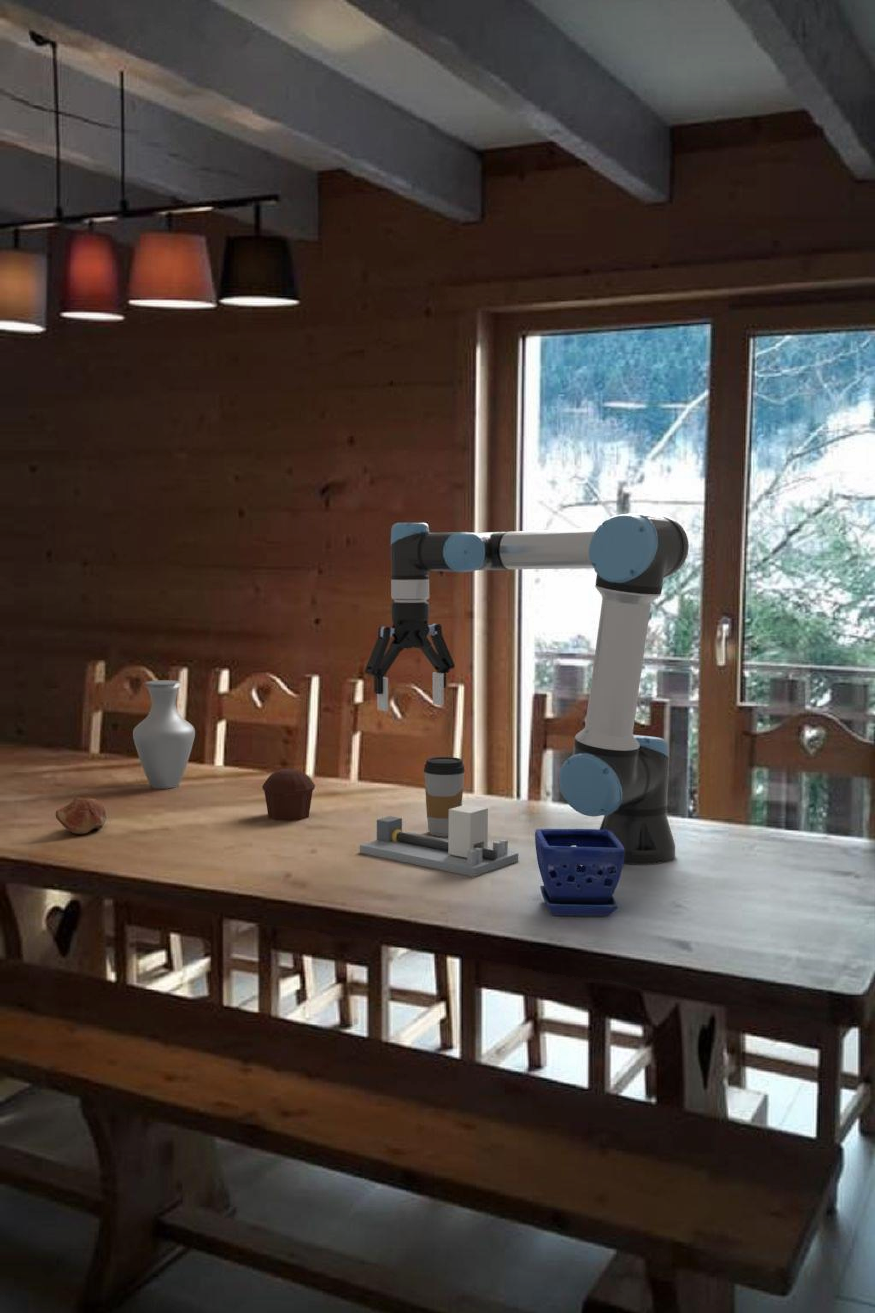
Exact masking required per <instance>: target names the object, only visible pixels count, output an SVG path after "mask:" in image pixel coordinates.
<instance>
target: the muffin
mask: <svg viewBox="0 0 875 1313" xmlns="http://www.w3.org/2000/svg"><path fill="white" fill-rule="evenodd" d="M261 787H262V790H263V791H264V792H263V793H264V797H265V803H266V804H265V805H266V809H267V816H268V819H271V820H274V821H287V822H291V821H301V820H304V819H309V818H310V810H311V804H312V797H313V792H314V790H315V789H316V784H315V783H314V782H313V780H312V778H311V777H310V776H309V775H307V774H306V773H305V772H303V771H301V770H300V769H297V768H281V769H277V770H276V771H274V772H273V773H271V774H270V775H269V776H268V777H267V779H266V780H265V782H264V783H263V785H262V786H261Z"/></svg>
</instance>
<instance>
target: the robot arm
mask: <svg viewBox="0 0 875 1313" xmlns="http://www.w3.org/2000/svg"><path fill="white" fill-rule="evenodd" d="M390 530H391V532H390V544H389V546H390V563H391V564H390V566H391V568H390V569H391V576H390V578H391V579H390V584H391V585H390V586H391V587H390V590H391V596H390V597H391V599H392V600H394V601H393V602H392V603H391V606H390V607H391V608H390V609H391V610H390V612H391V613H390V615H391V616H390V618H391V621H392V626H391V627H390V626H383V625H382V626H379V628H378V630H377V631H378V634H377V639H376V642H375V644H374V647H373V649H372V652H371V654H370V657H369V659H368V662H367V665H366V667H365V670H364V673H365V674H366V675H368V676H371V677H373V692H374V694H376V698H377V699H376V705H377V706H376V707H377V711H381V712H389V678H388V677H385V676H386V674H387V673H388V671H389V670H390V668H391V667H392V665H393V663H395V661H396V659H397V657H398V656H399V654H400V652H403V651H404V649H412V648H415V649H420V650H421V652H422V653H423V655H424V656H425V657H426V659H427V660H428V661H429V663H430V664H431V665H432V667H433V668H434V670H435V671H434V672H432V705H436V706H440V707H441V706H444V705H445V704H444V702H445V701H444V700H445V698H444V694H445V692H444V691H445V690H444V689H446V687H447V674H449V673H450V671H451V670H452V669H455V666H456V665H455V663H454V661H453V658H452V655H451V653H450V650H449V649H448V645H447V644H446V641H445V639H444V636H443V632H442V631H443V630H442V629H443V628H442V624H439V623H430V625H429V623H428V621H429V620H430V604H429V602H428V601H427V600H429V599H430V572H456V573H461V574H462V573H468V572H475V571H503V570H504V571H508V570H557V569H558V570H559V569H560V570H561V569H563V570H564V569H565V570H566V569H569V570H571V569H573V570H574V569H577V570H578V569H594V572H595V573H596V576H595V588H596V590H597V591H598V593H599V594H600V595H601V597H602V598H601V608H600V615H599V622H598V628H597V629H598V630H597V635H596V643H595V650H594V656H593V657H594V658H593V665H592V666H593V667H592V673H591V682H590V686H589V688H590V689H589V696H588V703H587V709H586V710H587V711H586V718H585V725H584V728H583V729H582V730H580V731H579V732H578V733H576V734H575V737H574V744H573V752H572V755H570V757H568V758H567V759H566V760H565V761H564V762H563V764H562V765H561V768H560V770H559V776H558V784H559V788H560V792H561V795H562V796H563V798H564V800H566V802H567V804H568V805H569V807H570V808H572V810H574V811H576V812H577V813H579V814H580V815H583V816H587V817H600V816H601V817H603V818H602V821H601V824H600V827H599V828H598V829H599V830H610V831H612V832H613V834H614V835H615V836H616V837H617V839H618V840H619V841H620V842H621V844H622V845H623V847H624V849H625V855H624V862H623V864H631V865H654V864H662V863H667V862H670V861H672V860H674V859H675V857H676V843H675V840H674V836H673V833H672V830H671V827H670V822H669V819H668V815H667V813H668V784H669V783H668V781H669V759H670V755H669V745H668V742H667V741H666V739H664V738H662V737H658V736H657V737H656V736H649V735H638V734H634V729H635V728H634V726H635V720H636V719H635V718H636V713H637V712H636V711H637V706H638V697H639V692H640V683H641V678H642V677H641V676H642V670H643V663H644V658H645V650H646V644H647V643H646V641H647V634H648V627H649V620H650V613H651V609H652V608H651V606H652V603H653V602H654V601H656V599H658V598H659V597H661V595H662V590H663V585H664V579H665V578H667V577H670V576H672V575H674V574H675V573H676V572H678V571H679V570H680V569H681V567H682V566H684V564H685V562H686V560H687V558H688V555H689V549H690V548H689V546H690V545H689V538H688V534H687V533H686V531H685V529H684V528H683V526H682V525H681V524H680V523H679V522H678V521H677V520H675V519H674V518H672V517H670V516H667V515H665V514H647V513H646V514H645V513H635V512H632V513H628V512H627V513H621V514H618V515H614V516H611V517H609V518H607V519H606V520H604V521H603V522H602V523H601V524H600V525H598V527H596V528H573V529H571V528H570V529H549V530H548V529H547V530H543V529H542V530H523V531H521V530H520V531H519V530H518V531H493V532H492V531H490V532H487V531H486V532H468V531H457V532H456V531H455V532H430V527H429V524H428V523H426V522H397V523H394V524H392V526H391V529H390ZM429 635H430V636H429ZM427 636H429V637H430V639H431V641H432V643H431V641H430V639H428V637H427ZM392 637H393V639H392V640H391V642H390V639H391V638H392ZM389 643H390V644H389ZM432 644H433V646H434V647H433V646H432ZM388 646H389V647H388ZM434 648H435V649H434Z"/></svg>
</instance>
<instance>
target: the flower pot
mask: <svg viewBox="0 0 875 1313" xmlns="http://www.w3.org/2000/svg"><path fill="white" fill-rule="evenodd" d="M599 829H600V828H597V829H595V828H539V829H536V830H535V831H534V843H535V852H536V860H537V866H538V869H539V873H540V876H541V880H542V883H543V885H540V886H539V889H540V892H541V895H542V898H543V902H544V903H545V905H546V907H547V909H548V911H549V912H550V913H551V914H552V915H553V916H575V917H576V916H578V917H579V916H581V917H582V916H583V917H590V916H591V917H593V916H594V917H607V916H611V915H612V914H613V913H615V911H616V910H617V908H618V903H617V901H616V899H615V898H614V893H615V892H616V889H617V887H618V885H619V882H620V879H621V875H622V870H623V866H624V863H623V862H624V855H625V849H624V847H623V845H622V844H621V842H620V841H619V840H618V839H617V837H616V836H615V835H614V834H613V832H612V831H610V830H599Z"/></svg>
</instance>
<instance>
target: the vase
mask: <svg viewBox="0 0 875 1313" xmlns="http://www.w3.org/2000/svg"><path fill="white" fill-rule="evenodd" d="M145 684H146V687H147V690H148V692H149V695H150V699H151V707H150V711H149V713H148V715H147V716H146V718H143V720H142V721H140V722H139V723H138V724H137V725H135V727H134V728H133V731H132V738H133V742H134V745H135V746H134V747H135V748H136V751H137V755H138V758H139V761H140V764H141V767H142V769H143V771H144V775H145V777H146V779H147V781H148V782H149V786H150V787H151V788H153V789H156V790H157V789H158V790H163V789H165V790H169V789H175V788H178V787H180V784H181V782H182V779H183V776H184V773H185V771H186V769H187V766H188V762H189V760H190V755H191V752H192V748H193V745H194V741H195V737H196V729H195V727H194V726H193V724H191V723H190V722H189V721H187V720H186V719H184V718H183V717H182V716H181V714H180V713H179V711H178V709H177V706H176V703H177V702H176V701H177V696H178V692H179V689H180V686H181V685H182V682H181V681H180V680H179V681H178V680H173V679H172V680H168V679H167V680H166V679H165V680H164V679H162V680H151V681H145Z"/></svg>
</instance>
